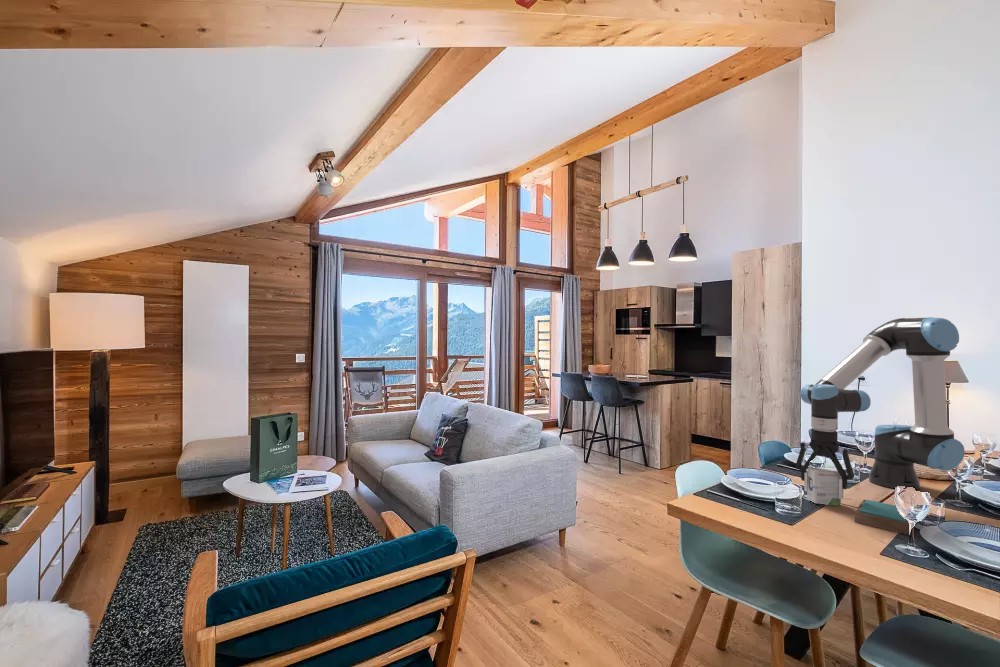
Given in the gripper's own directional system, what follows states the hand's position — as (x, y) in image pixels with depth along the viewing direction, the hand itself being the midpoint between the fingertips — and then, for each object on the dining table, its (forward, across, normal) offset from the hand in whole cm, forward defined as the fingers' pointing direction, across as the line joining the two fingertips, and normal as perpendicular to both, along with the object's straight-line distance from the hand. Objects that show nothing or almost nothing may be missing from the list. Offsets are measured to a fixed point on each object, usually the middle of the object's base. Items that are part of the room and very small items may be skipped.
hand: (823, 493), depth 160 cm
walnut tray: (+3, +17, -4) cm, 18 cm away
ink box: (+3, 0, 0) cm, 3 cm away
